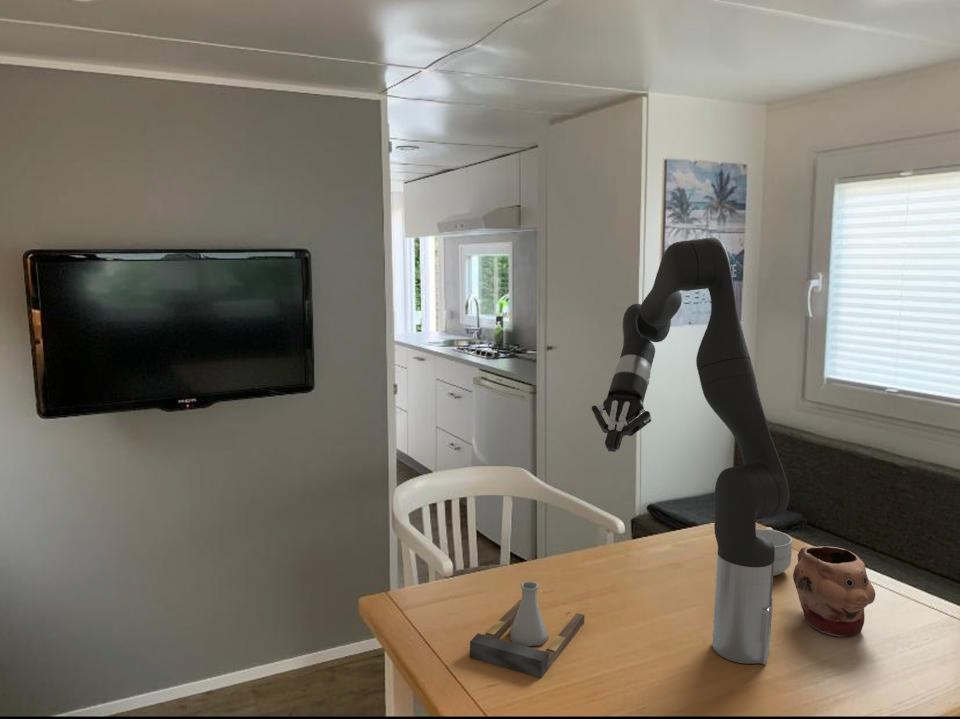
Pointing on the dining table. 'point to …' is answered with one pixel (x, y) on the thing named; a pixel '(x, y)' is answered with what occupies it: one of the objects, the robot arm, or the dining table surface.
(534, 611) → the flask
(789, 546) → the teacup
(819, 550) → the decorative planter
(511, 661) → the guide track
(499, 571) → the dining table surface
